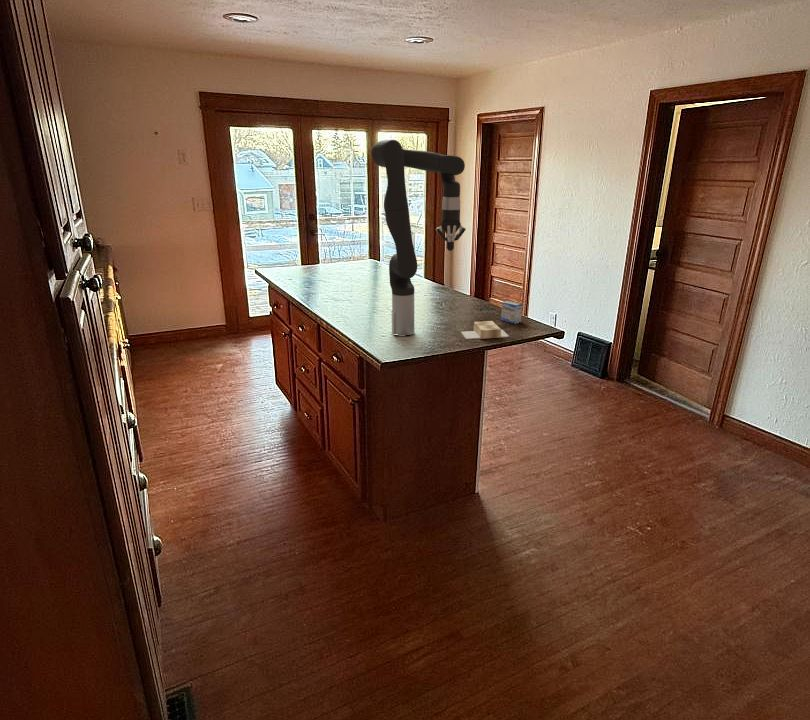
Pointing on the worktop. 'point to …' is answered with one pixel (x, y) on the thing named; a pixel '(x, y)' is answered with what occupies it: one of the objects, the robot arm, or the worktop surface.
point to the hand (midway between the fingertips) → (450, 250)
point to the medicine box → (511, 312)
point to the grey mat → (475, 336)
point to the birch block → (487, 329)
